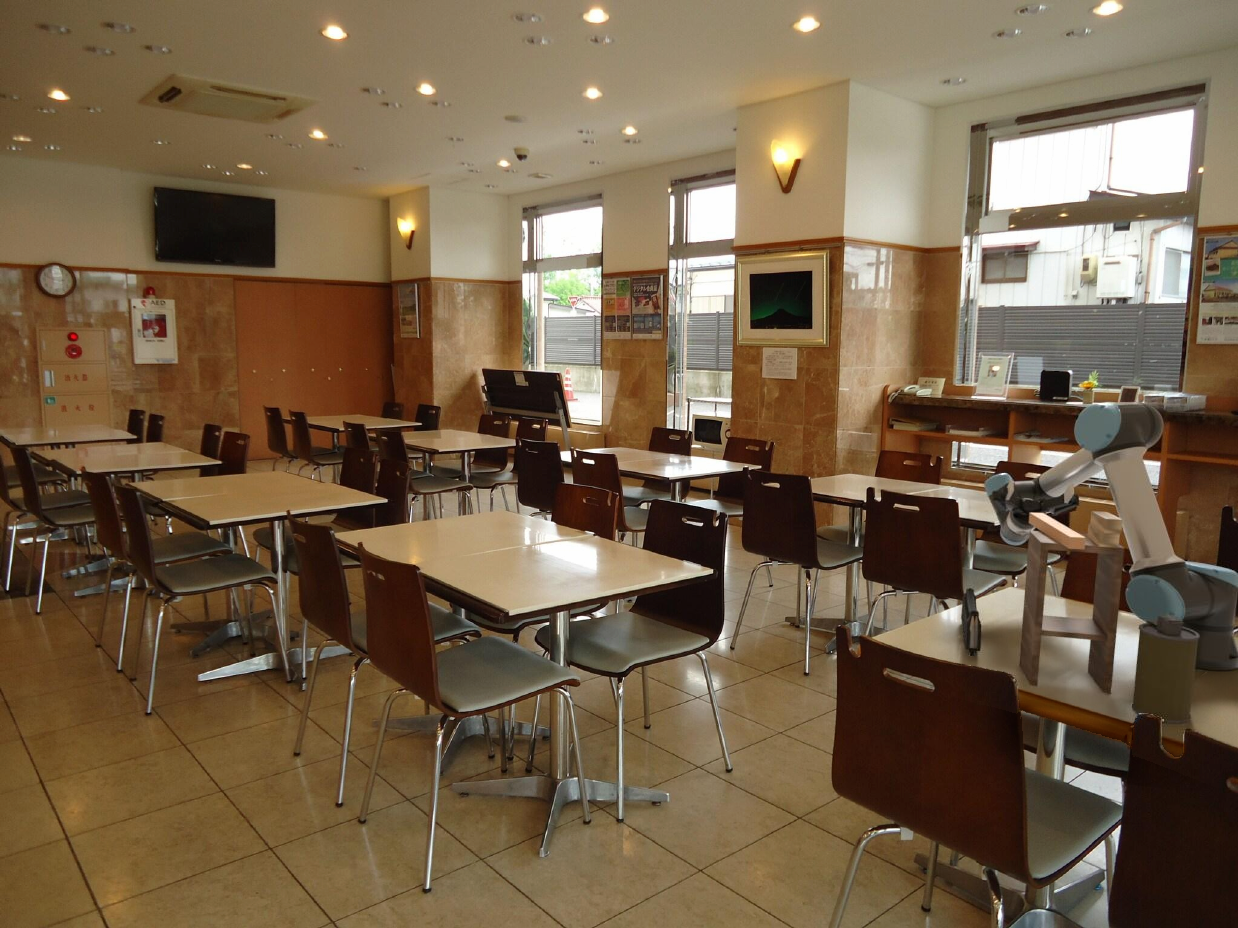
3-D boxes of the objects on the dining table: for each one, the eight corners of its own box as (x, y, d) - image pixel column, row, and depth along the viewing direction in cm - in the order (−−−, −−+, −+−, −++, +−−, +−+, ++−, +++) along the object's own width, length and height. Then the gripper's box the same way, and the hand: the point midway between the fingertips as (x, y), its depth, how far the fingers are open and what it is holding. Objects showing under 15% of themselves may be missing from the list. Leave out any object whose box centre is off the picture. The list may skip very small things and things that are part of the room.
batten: (1028, 522, 211) (1029, 512, 210) (1042, 523, 210) (1042, 513, 210) (1069, 548, 183) (1070, 536, 183) (1084, 549, 183) (1085, 537, 182)
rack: (1094, 672, 202) (1109, 508, 197) (1111, 694, 189) (1127, 520, 184) (1019, 665, 206) (1031, 504, 201) (1030, 686, 193) (1043, 515, 188)
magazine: (962, 588, 238) (969, 582, 210) (975, 589, 237) (983, 584, 209) (959, 652, 236) (965, 655, 208) (972, 654, 235) (980, 657, 207)
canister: (1203, 723, 174) (1213, 626, 172) (1150, 723, 174) (1160, 625, 172) (1168, 702, 185) (1178, 609, 183) (1119, 701, 185) (1127, 609, 182)
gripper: (1076, 532, 231) (1098, 504, 212) (974, 526, 237) (987, 498, 218) (1075, 505, 234) (1097, 475, 215) (974, 500, 240) (987, 470, 221)
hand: (1041, 486), depth 216 cm, fingers open, 13 cm apart
